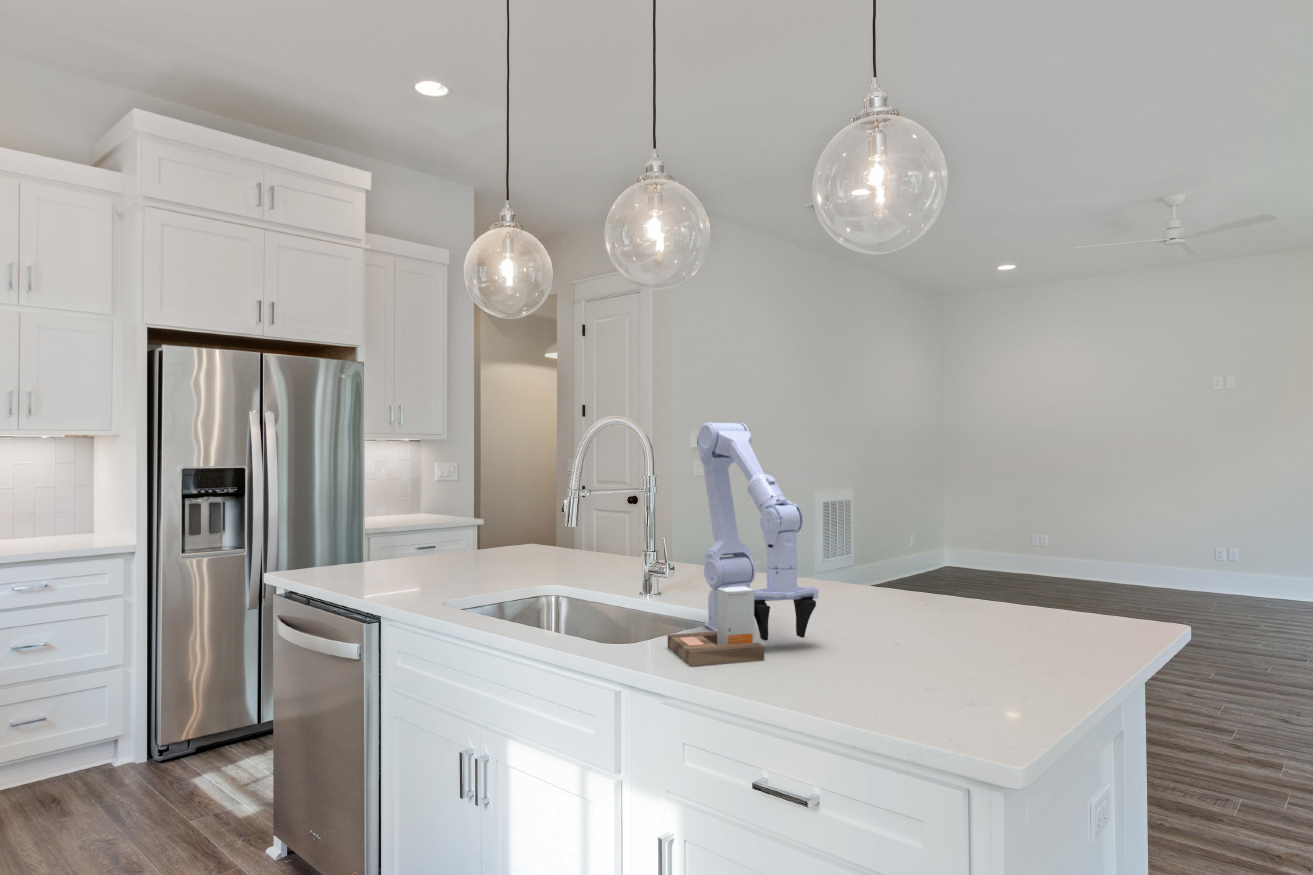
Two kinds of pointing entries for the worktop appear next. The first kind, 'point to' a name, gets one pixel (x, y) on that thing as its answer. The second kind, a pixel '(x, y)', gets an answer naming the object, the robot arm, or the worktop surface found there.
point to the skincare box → (735, 615)
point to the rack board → (712, 649)
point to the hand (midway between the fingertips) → (782, 637)
